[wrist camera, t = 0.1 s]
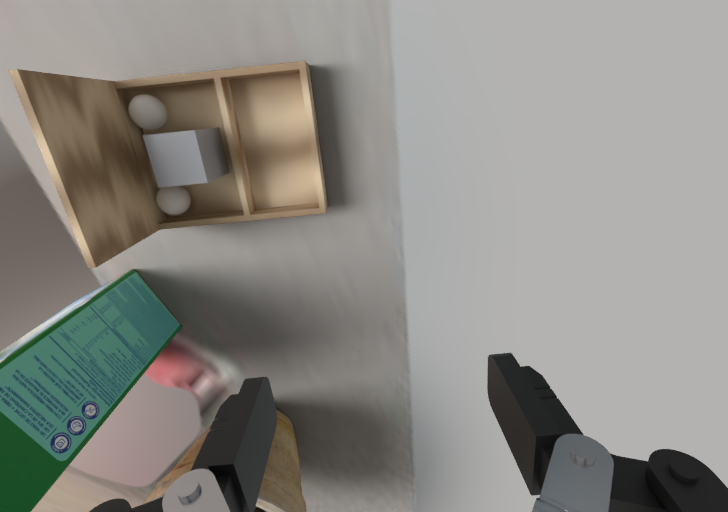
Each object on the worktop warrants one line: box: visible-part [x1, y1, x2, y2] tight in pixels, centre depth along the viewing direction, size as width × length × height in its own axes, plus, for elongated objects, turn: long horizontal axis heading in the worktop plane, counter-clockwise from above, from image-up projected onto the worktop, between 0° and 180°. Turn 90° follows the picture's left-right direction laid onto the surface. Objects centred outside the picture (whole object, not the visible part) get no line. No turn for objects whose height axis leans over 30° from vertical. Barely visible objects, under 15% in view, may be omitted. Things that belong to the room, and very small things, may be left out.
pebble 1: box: [128, 94, 168, 130], centre depth 35 cm, size 3×3×3 cm
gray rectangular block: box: [143, 127, 230, 188], centre depth 35 cm, size 4×4×6 cm
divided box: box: [8, 61, 328, 268], centre depth 32 cm, size 14×18×13 cm
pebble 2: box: [156, 186, 191, 215], centre depth 38 cm, size 3×3×3 cm
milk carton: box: [0, 269, 182, 512], centre depth 33 cm, size 9×9×25 cm
